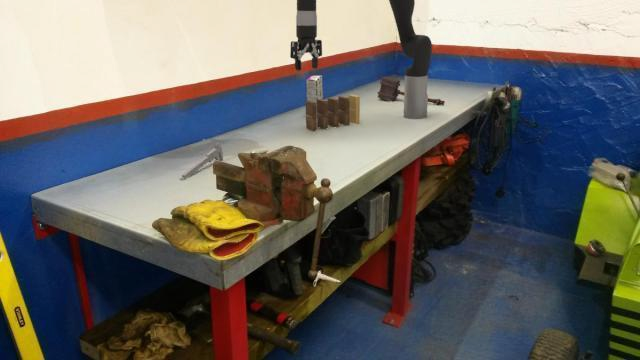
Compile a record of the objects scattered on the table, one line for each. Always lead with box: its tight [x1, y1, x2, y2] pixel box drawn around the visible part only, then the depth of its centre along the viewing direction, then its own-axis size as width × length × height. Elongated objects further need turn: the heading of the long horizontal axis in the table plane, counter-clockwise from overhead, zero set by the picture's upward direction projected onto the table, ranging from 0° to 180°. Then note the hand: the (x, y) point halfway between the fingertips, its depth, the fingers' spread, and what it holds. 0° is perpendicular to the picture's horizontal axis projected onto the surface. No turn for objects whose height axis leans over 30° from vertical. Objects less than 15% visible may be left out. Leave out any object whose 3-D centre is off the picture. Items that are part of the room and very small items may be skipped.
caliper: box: [179, 142, 224, 181], centre depth 154 cm, size 20×1×6 cm, turn 155°
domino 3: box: [326, 96, 340, 128], centre depth 200 cm, size 2×5×11 cm, turn 30°
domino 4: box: [337, 95, 351, 127], centre depth 203 cm, size 2×5×11 cm, turn 30°
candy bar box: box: [305, 75, 324, 109], centre depth 217 cm, size 11×5×16 cm, turn 168°
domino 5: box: [348, 93, 361, 125], centre depth 205 cm, size 2×5×11 cm, turn 30°
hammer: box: [377, 75, 446, 106], centre depth 241 cm, size 7×33×10 cm, turn 57°
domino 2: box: [316, 98, 329, 130], centre depth 198 cm, size 2×5×11 cm, turn 30°
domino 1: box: [304, 100, 318, 132], centre depth 196 cm, size 2×5×11 cm, turn 30°
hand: (306, 69), depth 190 cm, fingers open, 8 cm apart
